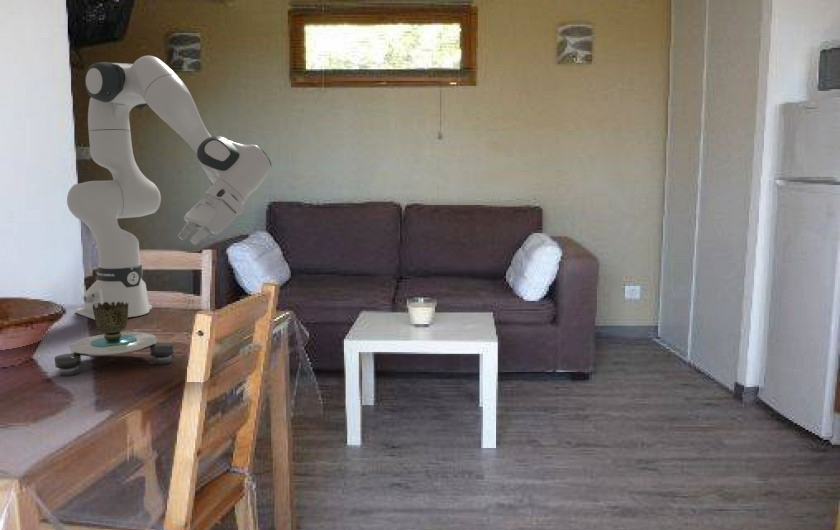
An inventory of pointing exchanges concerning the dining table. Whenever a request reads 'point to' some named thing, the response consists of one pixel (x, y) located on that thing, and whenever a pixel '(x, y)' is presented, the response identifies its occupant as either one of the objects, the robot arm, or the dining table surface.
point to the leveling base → (112, 350)
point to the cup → (111, 319)
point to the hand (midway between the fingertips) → (186, 240)
